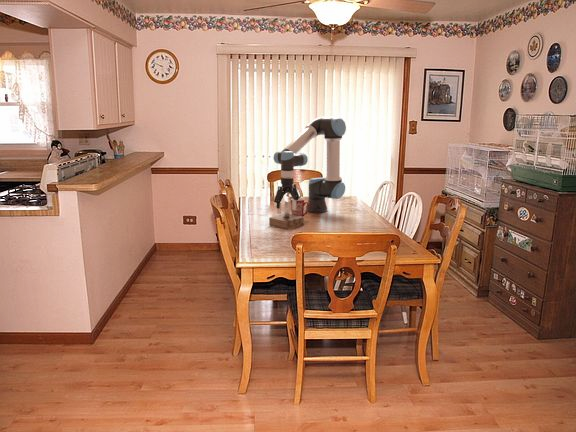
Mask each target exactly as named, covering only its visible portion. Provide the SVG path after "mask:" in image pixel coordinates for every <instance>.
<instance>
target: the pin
mask: <svg viewBox="0 0 576 432" xmlns="http://www.w3.org/2000/svg"><path fill="white" fill-rule="evenodd" d="M283 203H284V207H283V208H284V209H283V211H284V212H283V214H284V218H290V214H291V213H290V212H291V211H290V210H291V200H284V202H283Z"/></svg>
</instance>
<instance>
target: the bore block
mask: <svg viewBox="0 0 576 432" xmlns="http://www.w3.org/2000/svg"><path fill="white" fill-rule="evenodd" d="M304 218H305V216H304V217H301V216H296V215H292V213H290V218H284V213H283V214H279V215H275V216H269V218H268V219H269V221H268V222H269V224H268V225H270V226H269V227H273V226H274V227H275V228H277V229H282V230H290V229H294V228H297V227H301V226H304V224H305V219H304ZM274 227H273V228H274Z"/></svg>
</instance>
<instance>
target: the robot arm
mask: <svg viewBox="0 0 576 432" xmlns="http://www.w3.org/2000/svg"><path fill="white" fill-rule="evenodd" d="M346 126H347V125H346V122H345V121H344V119H343V118H342V117H336V116H320V117H317V118H314V120H312V121H311V122H309V123H308V124H307V125H306V126H305V128H304V130H302V131H301V133H299V135H297V136H296V137H295V138H294V139H293V140H292V141H291V142H290V143H289V144H288V145H286V147H284V148H283V149H282V150H280V151H276V152H275V153H274V154H273V161H274V163H276V164H279V165H280V185H281V186H280V185H279V186H277V191H276V194H275V197H274V199H273V202H274V203H276V213H277V214H279V215H282V203H281V202H282V199H283V198H284V196H285V195H286V194H288V193H289V194H290V196H291V197H292V198H293V199H294V200H292V210H295V211H296V205H297V200H298V198H300V196H299V192H298V189H297V184H296V183H294V167H303V166H306V165H307V164H308V161H309V160H308V158H309V157H308V156H307V154H305V153H300V151H301V150H302V149H303V148H304V147H305V146H306V145H307V144H308V143H309V142H310V141H311V140H312V139H315V138H316V137H318V136H321V135H323V136H324V139H325V141H326V177H313V178H310V179H309V180H308V198H307V199H308V200H307V202H309V204H310V209H309V211H308V212H309V213H318V214H319V213H320V214H321V213H326V212H328V206H327V203H326V198H327V199H332V200H334V199H335V200H339V199H341V198H342V197H343V196H344V194H345V192H346V184H345V183H344V182H343V181H342V178H341V176H340V173H341V172H340V169H341V168H340V165H341V164H340V163H341V162H340V159H341V158H340V155H341V153H340V150H341V149H340V148H341V147H340V146H341V145H340V144H341V143H340V141H341V140H342V139H343V136H344V135H345V134H346V131H347V127H346ZM292 198H291V199H292ZM308 208H309V205H308V204H307V203H306V206H305V211H306V212H307V210H308ZM308 212H307V213H308Z"/></svg>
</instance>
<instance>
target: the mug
mask: <svg viewBox="0 0 576 432" xmlns="http://www.w3.org/2000/svg"><path fill="white" fill-rule="evenodd" d="M292 200H294V199H293V198H290V210H291V211H290V212H291V213H290V214H292V215H296V216H301V217H304V218H305V216H306V215H307V214H308V211H309V209H310V204H309V202H308V201H305V198H303V197H299V198H298V200H297V205H296V211H295V210H292ZM307 204H308V205H309V208H308V210H307V211H306V212H305V213H304V210H305V205H307Z"/></svg>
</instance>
